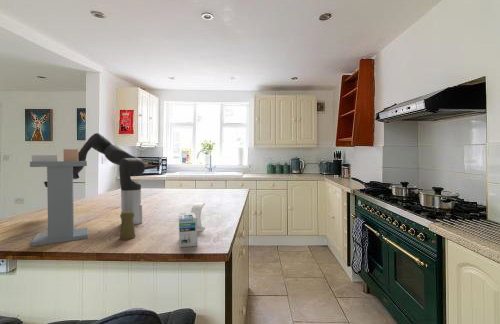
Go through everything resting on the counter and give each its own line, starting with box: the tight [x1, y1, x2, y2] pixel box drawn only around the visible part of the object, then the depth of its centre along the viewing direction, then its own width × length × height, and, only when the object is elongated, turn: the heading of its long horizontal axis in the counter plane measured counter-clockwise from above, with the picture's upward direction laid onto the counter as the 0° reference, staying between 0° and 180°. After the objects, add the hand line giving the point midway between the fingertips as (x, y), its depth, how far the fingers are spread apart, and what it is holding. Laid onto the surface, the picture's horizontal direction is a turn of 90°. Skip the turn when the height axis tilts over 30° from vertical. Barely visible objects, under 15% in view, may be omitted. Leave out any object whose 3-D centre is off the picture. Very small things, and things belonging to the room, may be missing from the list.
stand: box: [29, 154, 89, 247], centre depth 107 cm, size 18×13×34 cm
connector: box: [62, 148, 79, 161], centre depth 114 cm, size 5×17×5 cm, turn 33°
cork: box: [118, 211, 136, 241], centre depth 107 cm, size 6×6×11 cm
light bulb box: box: [178, 212, 198, 248], centre depth 100 cm, size 11×7×11 cm, turn 17°
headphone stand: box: [190, 202, 206, 232], centre depth 118 cm, size 5×6×12 cm
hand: (62, 179), depth 123 cm, fingers open, 8 cm apart
